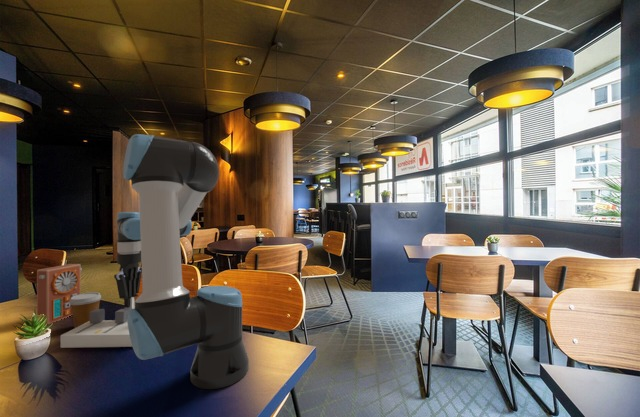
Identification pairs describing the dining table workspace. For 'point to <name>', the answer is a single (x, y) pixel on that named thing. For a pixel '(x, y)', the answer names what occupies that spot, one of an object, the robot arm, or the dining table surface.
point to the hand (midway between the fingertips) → (129, 314)
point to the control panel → (57, 290)
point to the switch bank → (98, 335)
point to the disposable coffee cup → (84, 307)
